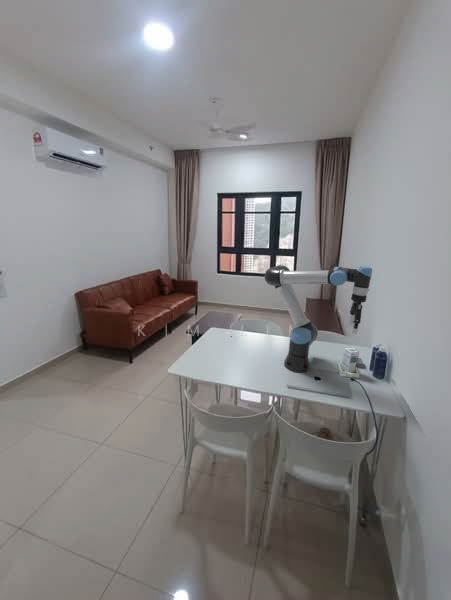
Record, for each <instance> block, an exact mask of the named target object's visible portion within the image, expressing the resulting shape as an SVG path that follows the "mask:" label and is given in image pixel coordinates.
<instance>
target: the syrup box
mask: <svg viewBox="0 0 451 600" xmlns="http://www.w3.org/2000/svg"><path fill="white" fill-rule="evenodd" d="M359 355H360V351H359V350H358V349H356V348H354V347H349V348H347V347H346V348H344V351H343V358H342V363H341V364H342V368H341V369H342V371H344V372H350V373H355V372H356V367H357V362H358V358H359ZM357 368H358V367H357Z"/></svg>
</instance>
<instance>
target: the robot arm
mask: <svg viewBox="0 0 451 600" xmlns="http://www.w3.org/2000/svg"><path fill="white" fill-rule="evenodd" d="M372 274H373V268H372V267H370V266H365V265H364V266H363V265H358V266H357V267H356V268H349V267H342V266H335V267H334V268H333V269H332V270H328V269H327V270H291V269H290V268H289V267H288V266H286V265H282V264H281V265H279V264H278V265H274V266H272V267H269V268H268V269H266V271H265V273H264V281H265V282H266V284H267V285H270V286H273V287H274V288H275V290H278V291H279V294H280V296H281V298H282V300H283V303H284V305H285V307H286V309H287V311H288V313H289V315H290V318H291V320H292V323H293V324H294V325H293V327H292V328H293V329H291V332H290V335H289V338H290V339H289V346H288V353H287V355H286V357H285V359H284V363H283V365H284V367H285V368H286V369H287V370H289V371H291V372H296V373H306V372H308V371H309V370H310V366H311V365H310V360H309V353H310V352H309V351H310V347H311V345H312V344H313V343H314V342H315V341H316V339H317V337H318V334H319V332H318V328H317V326H316V325H314V324H313V323H312V322H311V320H310V319H308V318H307V315H306V314H305V311H304V310H303V308H302V306H301V305H302V304H301V303H300V301H299V299H298V296H297V294H296V292H295V290H294V288H293V286H292V285H334V286H342V285H344V284H345V283H346V282H349V283H353V288H352V294H351V301H352V305H351V307H350V311H349V317H348V318H349V319H348V324H347V326H352V328H351V334H354V335H357V334H358V329H359V325H360V324H361V321H362V320H361V318H362V309H363V305H362V304H363V303H365V302H366V301H367V298H368V297H367V295H368V292H370V289H369V287H370V284H371V281H372V280H371V279H372V276H373V275H372ZM307 370H308V371H307Z"/></svg>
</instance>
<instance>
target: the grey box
mask: <svg viewBox="0 0 451 600" xmlns="http://www.w3.org/2000/svg"><path fill="white" fill-rule="evenodd" d="M358 369H364V361H363V360H362V358H361V357H358V362H357V370H358ZM358 371H359V370H358Z"/></svg>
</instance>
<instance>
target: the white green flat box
mask: <svg viewBox="0 0 451 600" xmlns="http://www.w3.org/2000/svg"><path fill="white" fill-rule="evenodd" d="M336 365H337V369H338V373H339V372H340V373H342V374H345V375H346V376H347V377H346V378H351V379H356V380H360V373H359V370H357V369H358V367H356V372H355V373H350V372H344V371H342V369H341V368H342V363H338V364H336Z"/></svg>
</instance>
